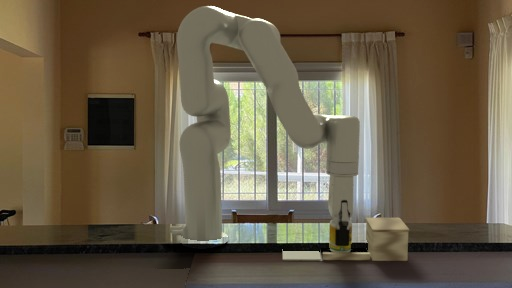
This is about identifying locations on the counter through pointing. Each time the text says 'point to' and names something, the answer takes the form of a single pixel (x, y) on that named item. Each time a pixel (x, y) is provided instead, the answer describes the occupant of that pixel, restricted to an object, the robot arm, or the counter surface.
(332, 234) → the supplement bottle
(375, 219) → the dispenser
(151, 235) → the counter surface
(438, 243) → the counter surface
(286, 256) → the mat
